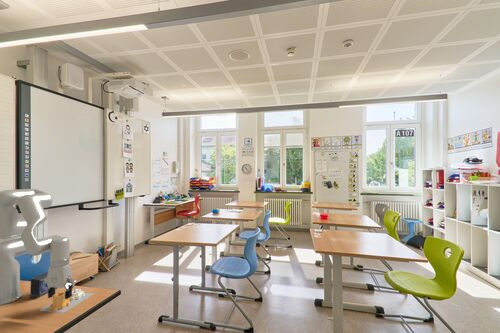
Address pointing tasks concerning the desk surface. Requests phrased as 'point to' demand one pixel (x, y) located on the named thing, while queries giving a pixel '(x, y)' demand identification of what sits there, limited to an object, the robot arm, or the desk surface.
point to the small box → (38, 286)
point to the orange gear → (59, 301)
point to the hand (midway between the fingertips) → (60, 297)
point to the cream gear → (76, 295)
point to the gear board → (72, 303)
